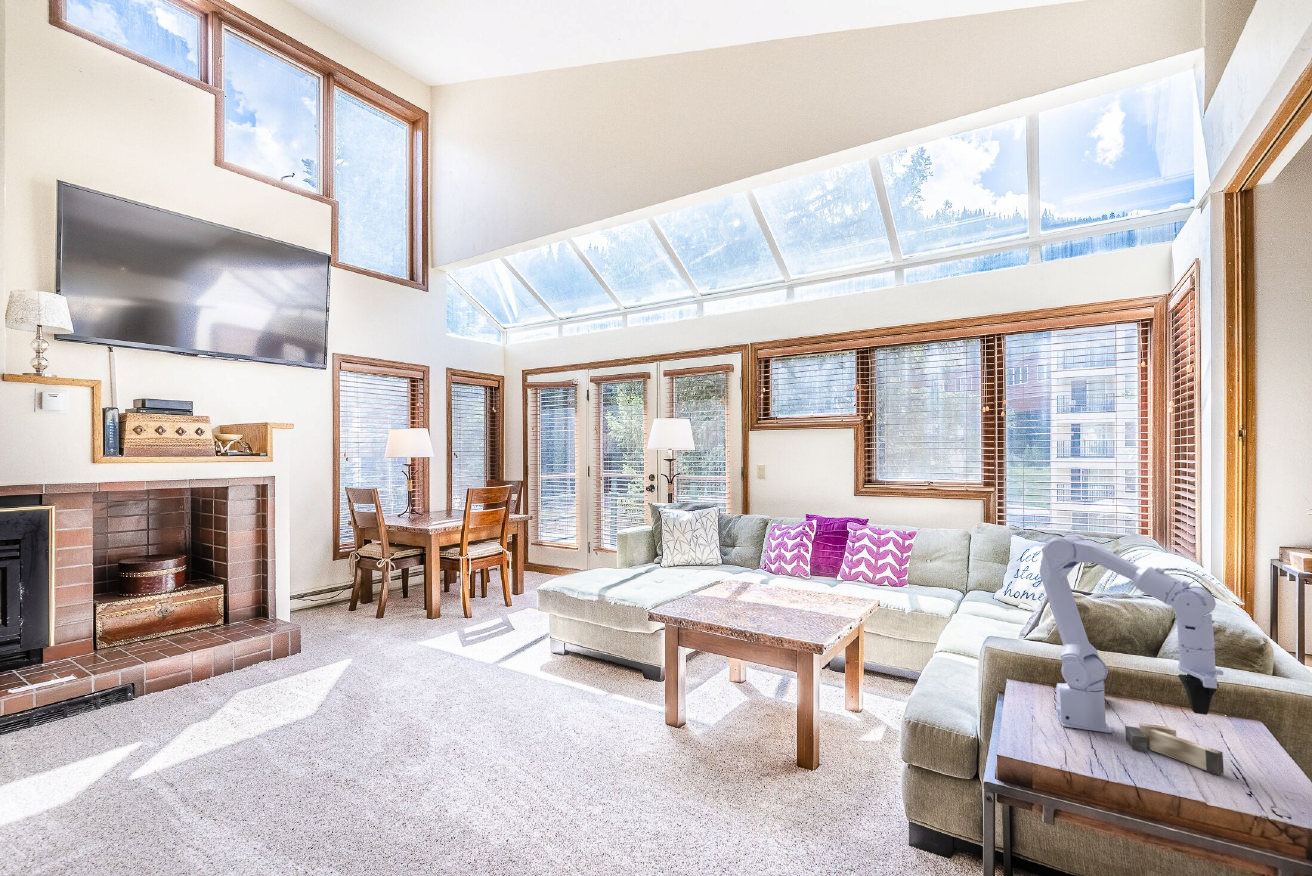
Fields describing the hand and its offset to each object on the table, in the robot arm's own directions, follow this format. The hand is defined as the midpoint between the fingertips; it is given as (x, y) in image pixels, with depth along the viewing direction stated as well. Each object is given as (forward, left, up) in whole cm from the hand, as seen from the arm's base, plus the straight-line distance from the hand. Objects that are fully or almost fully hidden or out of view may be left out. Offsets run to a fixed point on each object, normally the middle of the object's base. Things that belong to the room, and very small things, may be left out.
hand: (1199, 712), depth 127 cm
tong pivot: (-8, +2, -9) cm, 12 cm away
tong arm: (-4, -3, -9) cm, 10 cm away
